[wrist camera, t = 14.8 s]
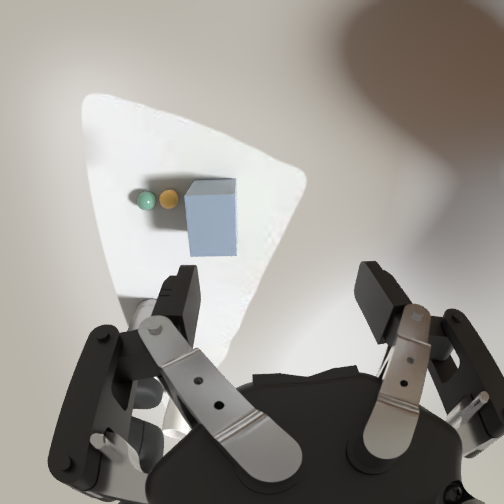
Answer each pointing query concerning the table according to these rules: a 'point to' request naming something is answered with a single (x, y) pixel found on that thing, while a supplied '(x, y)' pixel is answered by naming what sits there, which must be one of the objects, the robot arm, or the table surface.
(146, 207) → the green marble
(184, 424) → the drinking glass
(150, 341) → the robot arm
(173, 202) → the amber marble
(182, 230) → the table surface
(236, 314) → the table surface
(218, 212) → the blue-grey block
